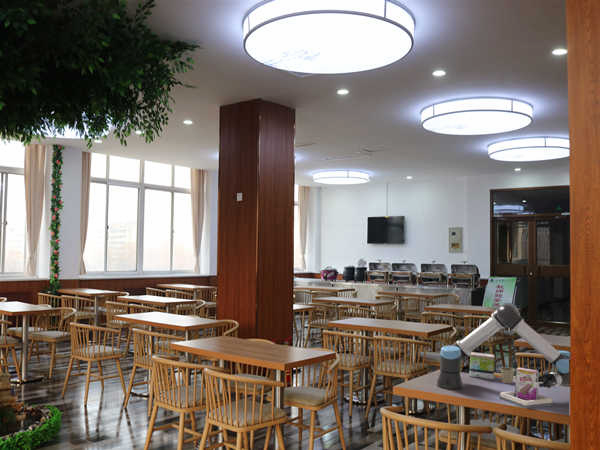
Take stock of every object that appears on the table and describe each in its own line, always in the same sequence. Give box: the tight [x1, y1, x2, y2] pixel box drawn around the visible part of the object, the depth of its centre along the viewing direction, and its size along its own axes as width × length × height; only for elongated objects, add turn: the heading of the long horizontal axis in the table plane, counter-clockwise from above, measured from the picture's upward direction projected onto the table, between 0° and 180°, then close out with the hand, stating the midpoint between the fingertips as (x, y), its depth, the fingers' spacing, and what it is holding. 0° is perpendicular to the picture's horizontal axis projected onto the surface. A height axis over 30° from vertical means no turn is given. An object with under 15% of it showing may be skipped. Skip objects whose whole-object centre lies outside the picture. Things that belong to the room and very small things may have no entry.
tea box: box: [469, 351, 495, 380], centre depth 354 cm, size 15×10×15 cm, turn 73°
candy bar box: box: [514, 367, 540, 401], centre depth 296 cm, size 11×5×16 cm, turn 57°
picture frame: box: [499, 390, 553, 409], centre depth 296 cm, size 18×20×4 cm
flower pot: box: [499, 366, 516, 385], centre depth 340 cm, size 9×9×9 cm
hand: (523, 382), depth 296 cm, fingers open, 13 cm apart
